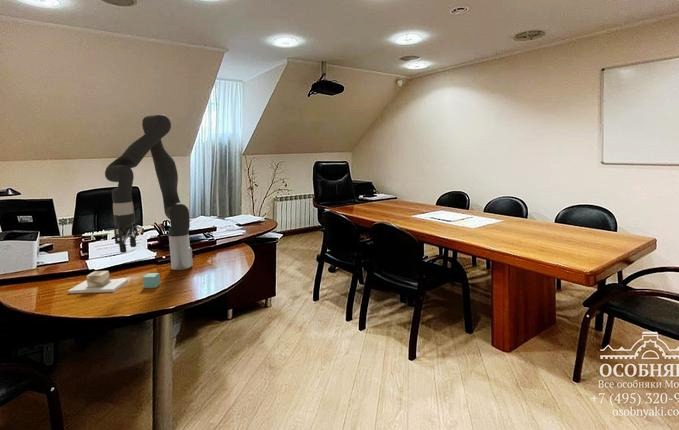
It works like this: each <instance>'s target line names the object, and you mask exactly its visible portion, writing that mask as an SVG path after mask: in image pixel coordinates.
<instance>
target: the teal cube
mask: <svg viewBox="0 0 679 430" xmlns="http://www.w3.org/2000/svg"><path fill="white" fill-rule="evenodd" d="M160 275H161V274H160V272H152V273H151V272H147V273H146V274H145V275H143V277H142V283H143V284H142V285H143V289H150V288H151V289H153V288H155V289H156V288H157V287H158V286H159V285H161V277H160Z"/></svg>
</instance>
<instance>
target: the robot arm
mask: <svg viewBox="0 0 679 430" xmlns="http://www.w3.org/2000/svg"><path fill="white" fill-rule="evenodd" d="M141 125H142V129H143V133H144V135H142V136H141V137H139V138H137V139H136V140H134V141H133V142H132V143H131V144H130V145H129V146H128V147H127V148H126V149H125V150H124V152H123V153H122V155H120V156H119V157H118V158H116V159H114V160H113V161H112V162H111V163H110V164H108V165H107V167H105V171H104V177H105V179H106V180H107V181H109V182H112V183H117V187H116V188H114V189H112V190H111V199H112V212H113V220H114V224H115V225H116V226H118V229H117V228H116V229H114V230H113V231H114V232H113V233H114V243H115V244H116V245H118V246H119V252H120V253H121V254H124V253H127V245H126V244H127V243H126V241H127V240H128V238H129V243H130V244H129V246H130V247H131V248H135V247H137V240H136V239H137V236H139V230H138V225H137V223H136V217H135V216H136V215H135V208H134V203H133V195H132V189H133V183H134V172H133V170H132V169H133V168H136V167H138V165H140V163H141V161H142V160H143V159H144V158H145V156H146V155H147V154H148V153H149V151H150V153H151V157H152V162H153V166H154V169H155V174H156V177H157V182H158V185H159V188H160V189H159V190H160V191H161V196H162V201H163V202H162V203H163V210H164V214H165V217H166V218H167V219H169V220H170V221H169V222H170V223H169V224H170V225H169V226H170V228H169V229H168V241H169V243H168V244H169V254H170V266H171V270H174V271H183V270H186V269H187V270H188V269H190V268H191V267H194V266H193V265H194V262H193V249H192V247H191V245H190V233H189V230H190V226H191V225H190V223H191V221H190V210H189V208H188V207H187V205H186V204H183V203H181V200H180V197H179V195H178V194H179V193H178V182H179V175H178V169H177V165H176V162H175V160H174V158H173V157H172V155H171V154H170V153H169V152H168V151H167V150H166V148H165V147H164V146H165V145H164V144H163V141H162V138H164V137H165V136H167V134H169V132H170V131H171V128H172V123H171V120H170V118H169V117H168V116H166V115H165V114H153V115H152V114H151V115H147V116H144V117H143V119H142V123H141Z"/></svg>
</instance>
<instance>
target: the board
mask: <svg viewBox="0 0 679 430" xmlns="http://www.w3.org/2000/svg"><path fill="white" fill-rule="evenodd" d="M128 282H129V279H128V278H125V279H123V278H122V279H120V278H119V279H110V282H109V283H107V284H106V285H104V286H103V287H88V286H87V279H86V280H83V281H82V282H80V283H79V284H77V285H75V286H73V287H72V288H70V289H69V290H67V291H68V294H83V293H84V294H85V293H89V294H91V293H114V292H115V291H117V290H119V289H120V288H121V287H123V286H124V285H125V284H127V283H128Z"/></svg>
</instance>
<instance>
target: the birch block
mask: <svg viewBox="0 0 679 430" xmlns="http://www.w3.org/2000/svg"><path fill="white" fill-rule="evenodd" d="M86 280H87V286H88V287H103V286H104V285H106V284H107V283H109V282H110V280H111V278H110V271H109V270H95V271H92V272H90V273H89V274H87V275H86Z"/></svg>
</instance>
